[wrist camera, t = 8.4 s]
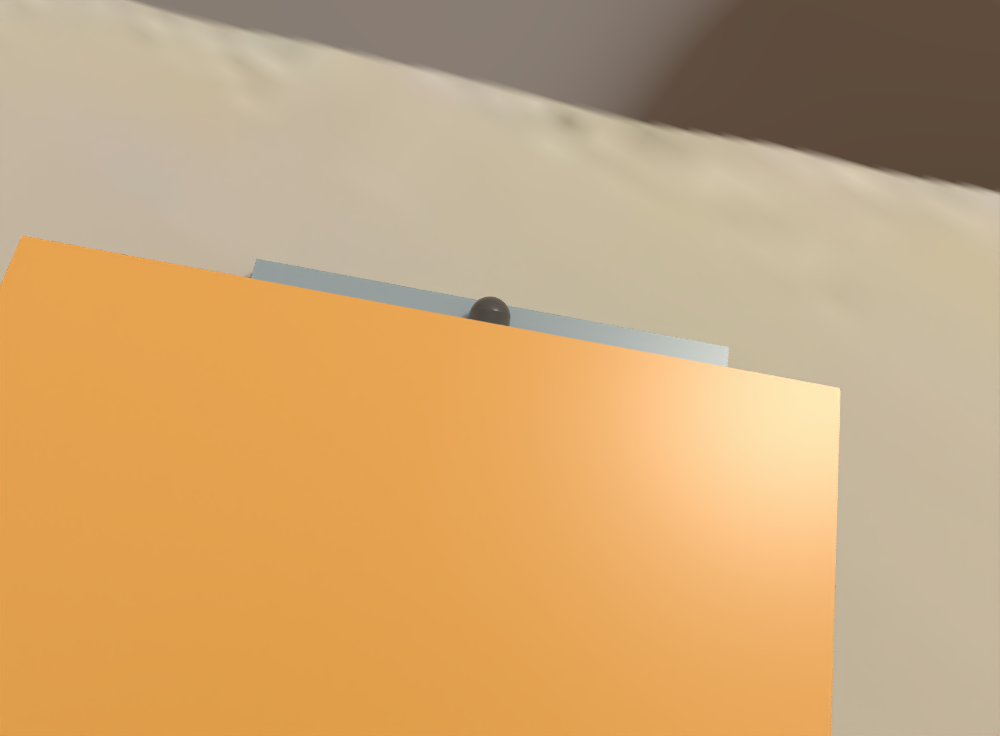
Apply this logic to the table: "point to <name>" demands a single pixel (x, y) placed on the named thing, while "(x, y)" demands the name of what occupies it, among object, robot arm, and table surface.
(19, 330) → the brick
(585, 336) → the charging dock
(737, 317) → the table surface
